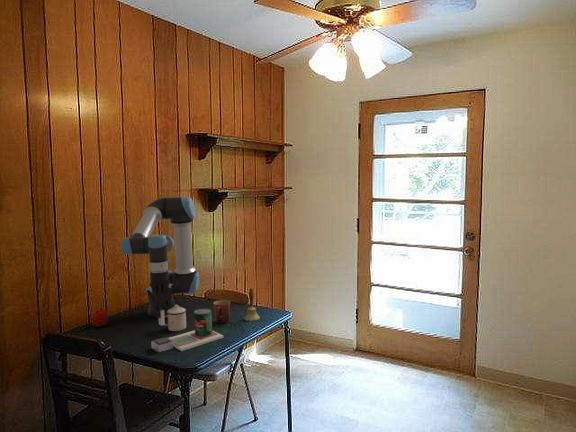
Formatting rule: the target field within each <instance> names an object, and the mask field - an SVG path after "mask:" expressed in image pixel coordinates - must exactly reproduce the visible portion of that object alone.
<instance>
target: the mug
mask: <svg viewBox="0 0 576 432" xmlns="http://www.w3.org/2000/svg"><path fill="white" fill-rule="evenodd" d="M213 306H214V319H215V322H216V323H217V324H218V325H222V324H223V325H224V324H227V323H228V322H229V321H230V317H231V316H230V314H231V313H230V306H231V301H230V300H227V299H222V300H221V299H219V300H215V301H214V302H213Z"/></svg>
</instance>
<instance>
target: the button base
mask: <svg viewBox="0 0 576 432" xmlns="http://www.w3.org/2000/svg"><path fill="white" fill-rule="evenodd" d="M166 338H168V339H169V338H170V337H166ZM169 340H170V339H169ZM170 341H171V342H168V343H164V344H161V345H159V344H157V343H155V342H154V340H152V341H151V344H150V345H151V349H152V350H154V351H156V352H157V353H162V351H163V352H165V351H169V350H173V349H175V347H174V341H172V340H170Z"/></svg>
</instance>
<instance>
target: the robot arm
mask: <svg viewBox="0 0 576 432" xmlns="http://www.w3.org/2000/svg"><path fill="white" fill-rule="evenodd" d="M195 218H196V207H195V204H194V201H193V199H192V198H191V197H188V196H178V197H177V196H175V197H172V196H171V197H160V198H157V199H155V200H153V201H151V202H150V203H149V204H148V205H147V206H145V208H144V209H143V212H142V217H141V219H140V220H139V222H138V224H137V225H136V227H135V229H134V230H133V232H132V234H131V235H130V237H123V238H121V242H120V251H121V253H122V254H123V255H148V260H149V261H148V263H149V271H150V272H149V287H147V288H145V289H144V292H145V293H146V294H147V298H148V300H149V304H148V305H149V306H148V309H147V315H148V316H149V317H154V318H155V317H156V318H157V319H158V325H160V326H166V325H165V324H166V322H165V321H166V319H165V318H166V317H165V316H166V315H168V314H167V311H168V310H169V309H172V308H173V307H174V306H175V305H176V304H175V301H174V298H173V295H182V294H184V295H185V294H188V295H189V294H190V295H191V294H195V293H197V292H198V290H199V286H200V285H199V284H200V272H199V271H197V268H196V267H195V266H194V264H193V250H192V249H193V248H192V236H191V234H192V233H191V232H192V231H191V224H192V223H193V220H194V219H195ZM161 220H169V221H170V225H172V226H173V233H174V235H173V236H174V239H173V238H172V237H171V236H169V235H165V234H153V235H152V233H153V231H154V230H155V227H156V225H157V224H158V223H159V222H160V221H161ZM174 246H175V248H174ZM173 248H174V249H175V257H176V258H175V259H176V261H175V263H176V268H175V269H174V270H173V271H174V272H172V270H170V269H169V263H168V260H169V259H168V253H169V252H171V251H172V250H173Z"/></svg>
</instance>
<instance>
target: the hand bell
mask: <svg viewBox="0 0 576 432" xmlns="http://www.w3.org/2000/svg"><path fill="white" fill-rule="evenodd" d="M254 295H255V293H254V289H253V288H249V291H248V298H249V307H248V308H247V309H246V315H245V316H244V318H243V320H244V321H247V322H256V321H259V320H260V319H261V318H260V317H261V316H259V315H258V313H257V310H256V307H254Z"/></svg>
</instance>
